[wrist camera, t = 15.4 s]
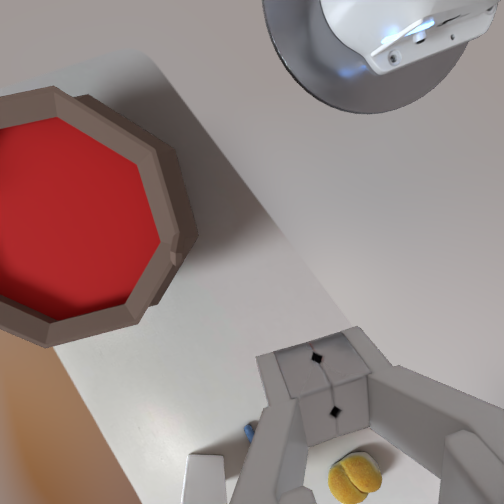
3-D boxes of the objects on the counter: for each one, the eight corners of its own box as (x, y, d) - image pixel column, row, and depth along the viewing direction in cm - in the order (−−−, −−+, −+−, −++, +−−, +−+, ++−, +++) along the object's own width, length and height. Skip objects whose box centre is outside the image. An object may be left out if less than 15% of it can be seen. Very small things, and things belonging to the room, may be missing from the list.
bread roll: (317, 473, 52) (325, 497, 48) (358, 441, 52) (370, 462, 48) (344, 500, 54) (354, 524, 50) (384, 469, 54) (397, 491, 50)
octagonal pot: (213, 130, 38) (215, 95, 22) (189, 310, 43) (176, 386, 27) (-2, 88, 34) (-184, 10, 19) (-2, 291, 39) (-146, 366, 23)
